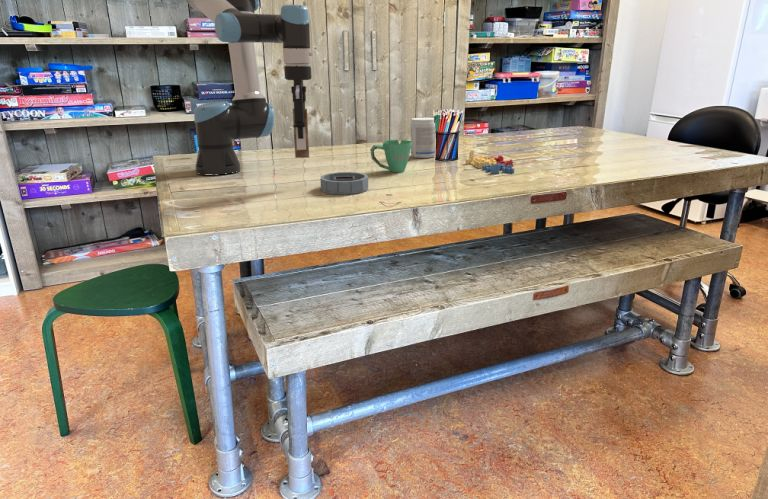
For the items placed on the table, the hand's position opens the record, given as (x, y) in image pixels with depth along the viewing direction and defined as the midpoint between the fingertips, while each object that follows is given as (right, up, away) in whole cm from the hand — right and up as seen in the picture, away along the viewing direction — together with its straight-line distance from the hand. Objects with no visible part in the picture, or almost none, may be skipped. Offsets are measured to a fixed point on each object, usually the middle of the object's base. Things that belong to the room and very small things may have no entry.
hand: (301, 148), depth 161 cm
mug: (+27, -3, +25) cm, 37 cm away
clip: (+13, -12, +1) cm, 17 cm away
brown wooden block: (0, -2, +1) cm, 3 cm away
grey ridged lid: (+13, -12, +1) cm, 17 cm away
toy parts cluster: (+62, +2, +40) cm, 74 cm away
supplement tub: (+40, +6, +52) cm, 66 cm away
